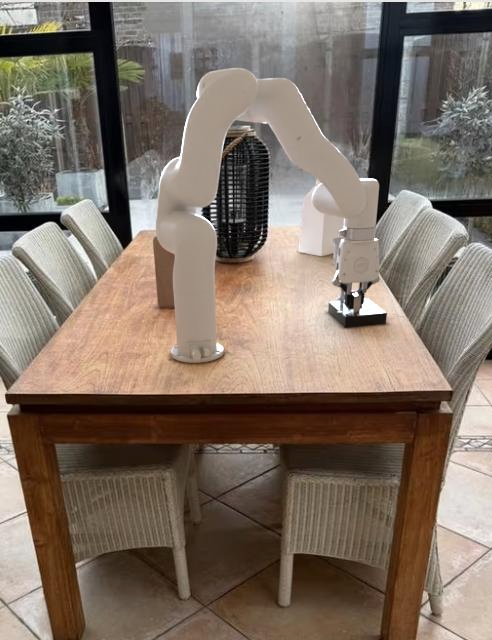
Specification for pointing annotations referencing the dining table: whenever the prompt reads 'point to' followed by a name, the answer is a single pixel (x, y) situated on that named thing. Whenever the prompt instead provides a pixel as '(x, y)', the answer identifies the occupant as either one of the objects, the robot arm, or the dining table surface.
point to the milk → (317, 228)
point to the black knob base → (357, 314)
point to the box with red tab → (356, 302)
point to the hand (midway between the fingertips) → (353, 307)
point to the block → (164, 275)
